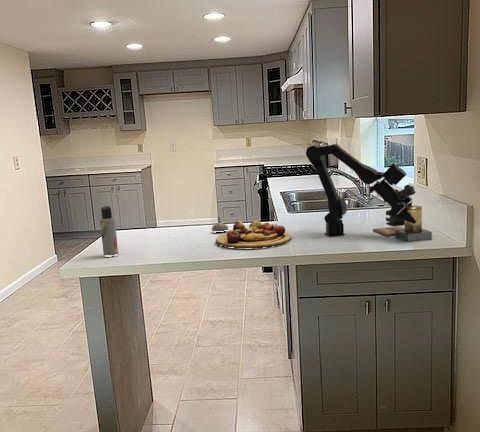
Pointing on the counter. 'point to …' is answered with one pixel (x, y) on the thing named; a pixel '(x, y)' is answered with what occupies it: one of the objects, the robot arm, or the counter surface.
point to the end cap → (394, 219)
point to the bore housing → (413, 235)
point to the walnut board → (387, 231)
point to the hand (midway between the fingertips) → (416, 221)
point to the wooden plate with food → (254, 236)
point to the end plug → (417, 215)
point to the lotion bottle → (108, 232)
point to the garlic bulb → (219, 226)
